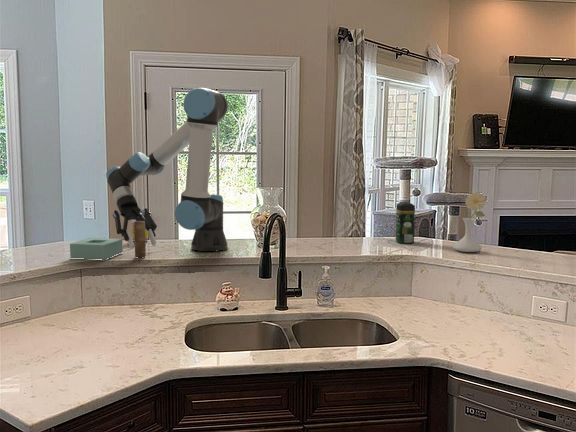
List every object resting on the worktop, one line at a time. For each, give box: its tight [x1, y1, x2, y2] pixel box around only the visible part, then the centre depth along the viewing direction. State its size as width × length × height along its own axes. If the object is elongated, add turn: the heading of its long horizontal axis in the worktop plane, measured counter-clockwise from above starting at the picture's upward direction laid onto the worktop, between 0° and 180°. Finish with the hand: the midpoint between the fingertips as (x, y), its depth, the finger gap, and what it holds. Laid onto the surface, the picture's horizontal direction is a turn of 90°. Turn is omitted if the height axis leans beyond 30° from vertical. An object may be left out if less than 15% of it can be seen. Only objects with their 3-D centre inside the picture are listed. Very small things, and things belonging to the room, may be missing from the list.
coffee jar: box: [395, 201, 416, 245], centre depth 246 cm, size 10×8×19 cm
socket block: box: [69, 237, 124, 260], centre depth 210 cm, size 14×14×6 cm
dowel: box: [134, 221, 147, 259], centre depth 208 cm, size 4×4×14 cm
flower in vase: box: [453, 191, 487, 253], centre depth 224 cm, size 13×11×25 cm
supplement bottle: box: [131, 213, 149, 242], centre depth 244 cm, size 7×7×13 cm
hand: (143, 245), depth 206 cm, fingers open, 8 cm apart
